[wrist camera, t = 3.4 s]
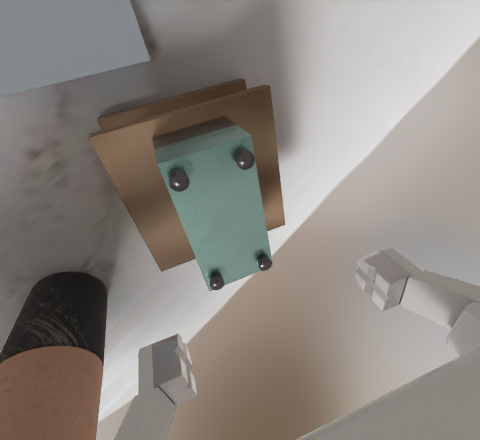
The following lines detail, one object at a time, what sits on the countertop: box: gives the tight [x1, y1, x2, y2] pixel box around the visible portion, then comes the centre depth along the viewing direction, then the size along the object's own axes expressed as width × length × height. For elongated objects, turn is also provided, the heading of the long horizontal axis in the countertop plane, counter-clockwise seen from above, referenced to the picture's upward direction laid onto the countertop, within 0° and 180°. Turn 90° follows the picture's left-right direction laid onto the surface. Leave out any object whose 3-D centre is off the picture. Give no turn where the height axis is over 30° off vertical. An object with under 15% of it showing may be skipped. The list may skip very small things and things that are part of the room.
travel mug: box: [0, 272, 107, 440], centre depth 20 cm, size 8×8×20 cm
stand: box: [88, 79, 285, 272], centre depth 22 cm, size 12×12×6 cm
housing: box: [152, 116, 272, 291], centre depth 18 cm, size 10×5×6 cm, turn 11°
